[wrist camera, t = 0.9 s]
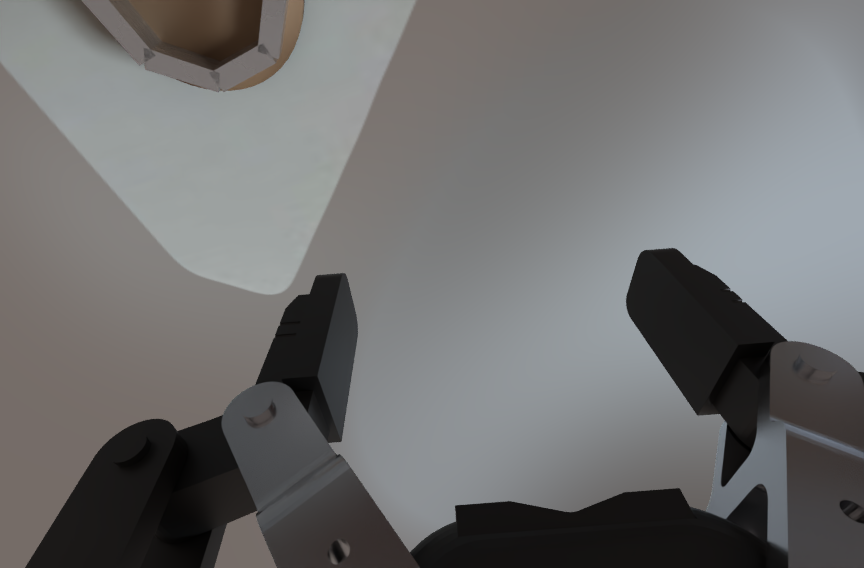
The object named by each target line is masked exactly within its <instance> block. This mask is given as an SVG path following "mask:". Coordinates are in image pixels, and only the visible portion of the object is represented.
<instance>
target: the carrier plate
mask: <svg viewBox="0 0 864 568" xmlns="http://www.w3.org/2000/svg"><path fill="white" fill-rule="evenodd" d="M81 1H82V2H83V3H84V4H85V5H86V6H87V7H88V8H89V9H90V11H91V12H92V13H93V14H94V15H95V16H96V17H97V18H98V20H99V21H100V22H101V23H102V24H103V25H104V26H105V27H106V29H107V30H108V31H109V32H110V33H111V34H112V35H113V36H114V37H115V39H116V40H117V41H118V42H119V43H120V44H121V45H122V46H123V48H124V49H125V50H126V51H127V52H128V53H129V54H130V55H131V57H132V58H133V59H134V60H135V61H136V62H137V63H138V64H139V65H141V64H143V63H144V62H145V69H146V70H149V71H153V72H156V73H159V74H162V75H165V76H168V77H172V78H175V79H177V80H179V81H182V82H184V83H187V84H190V85H193V86H197V87H201V88H204V89H210V90H213V91H216V92H219V91H220V90H222V91H223V92H225V91H231V90H239V89H244V88H248V87H252V86H255V85H257V84H259V83H261V82H264V81H265V80H267V79H268V78H270V77H271V76H273V75H274V74H275V73H276V72H277V71H278V70H279V69H280V68H281V67H282V66H283V65H284V63H285V62H286V61H287V60H288V58H289V56H290V55H291V53H292V51H293V49H294V47H295V44H296V42H297V39H298V36H299V33H300V29H301V25H302V20H303V13H304V0H81Z"/></svg>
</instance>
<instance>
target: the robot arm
mask: <svg viewBox="0 0 864 568" xmlns="http://www.w3.org/2000/svg"><path fill="white" fill-rule="evenodd" d="M626 306H627V310H628V314H629V316H630V317H631V319H632V321H633V322H634V324H635V325H636V327H637V328H638V329H639V331H640V332H641V334H642V335H643V337H644V338H645V340H646V341H647V343H648V344H649V345H650V347H651V348H652V350H653V351H654V353H655V354H656V356H657V357H658V359H659V360H660V362H661V363H662V364H663V366H664V367H665V369H666V370H667V372H668V373H669V375H670V376H671V378H672V379H673V380H674V382H675V383H676V385H677V386H678V388H679V389H680V391H681V392H682V393H683V395H684V396H685V398H686V399H687V401H688V402H689V404H690V405H691V407H692V408H693V410H694V411H695V413H696V414H697V415H711V414H721V416H722V417H723V419H724V420H725V421H724V423H723V424H722V426H721V428H720V431H719V439H718V447H717V455H716V462H715V471H714V478H713V487H712V494H711V498H710V501H709V504H708V507H707V509H706V511H702V510H699V509H696V508H692V507H689V505H688V503H687V501H686V500H685V498H684V496H683V494H682V492H681V490H680V489H679V488H676V489H664V490H650V491H637V492H625V493H622V494H619V495H617V496H614V497H612V498H609V499H607V500H605V501H602V502H599V503H597V504H594V505H592V506H589V507H587V508H584V509H582V510H580V511H577V512H563V511H558V510H553V509H548V508H542V507H537V506H532V505H527V504H522V503H516V502H511V501H508V502H495V503H483V504H470V505H457V506H455V511H456V522H454V523H451V524H449V525H446V526H444V527H442V528H441V529H439V530H437V531H435V532H433V533H432V534H430V535H429V536H428V537H426V538H425V539H424V540H423V541H421V542H420V543H419V544H418V545H417V546H416V547H415V548H414V549H413V550H412V551H411V552H409V551H408V549H407V548H406V546H405V545H404V544H403V542H402V541H401V539H400V538H399V536H398V535H397V533H396V532H395V531H394V529H393V528H392V526H391V525H390V523H389V522H388V521H387V519H386V518H385V516H384V515H383V513H382V512H381V510H380V509H379V508H378V506H377V505H376V503H375V502H374V500H373V499H372V497H371V496H370V495H369V493H368V492H367V490H366V489H365V487H364V486H363V484H362V483H361V482H360V480H359V479H358V477H357V476H356V474H355V473H354V472H353V470H352V469H351V467H350V466H349V464H348V463H347V462H346V460H345V459H344V458H343V457H342V456H341V455H340V454H339V455H337V454H336V453H335V452H334V451H333V449H332V448H331V447H330V445H329V444H328V443H332V442H341V441H342V434H343V427H344V421H345V415H346V407H347V402H348V395H349V388H350V382H351V376H352V370H353V363H354V356H355V350H356V343H357V337H358V324H357V317H356V312H355V308H354V304H353V300H352V296H351V291H350V287H349V283H348V279H347V276H346V274H345V273H340V274H327V275H317V276H316V278H315V280H314V283H313V286H312V289H311V292H310V294H308V295H298V297H296V299H294V300H293V301H292V302H291V303H290V304H289V306H288V307H287V308H286V309H285V312H284V314H283V317H282V319H281V322H280V326H279V327H278V329H277V332H276V334H275V338H274V339H273V342H272V344H271V347H270V349H269V352H268V354H267V357H266V359H265V362H264V364H263V367H262V369H261V372H260V374H259V377H258V379H257V382H256V384H255V385H254V386H252V387H250V388H248V389H246V390H245V391H243V392H241V393H240V394H239V395H238V396H236V397H235V398H234V399H233V400H232V401H231V403H230V404H229V405H228V407H227V408H226V410H225V412H224V414H223V415H222V416H219V417H217V418H214V419H212V420H209V421H206V422H203V423H200V424H197V425H194V426H192V427H188V428H186V429H183V430H180V431H177V430H176V429H175V428H174V426H173V425H172V424H171V423H170V422H168V421H166V420H163V419H150V420H145V421H142V422H138V423H136V424H134V425H131V426H129V427H127V428H126V429H124V430H122V431H121V432H119V433H118V434H116V435H115V436H114V437H112V438H111V439H110V440H109V441H108V442H107V443H106V444H105V445H104V446H103V447H102V448H101V449H100V450H99V451H98V453H97V454H96V455H95V457H94V458H93V460H92V461H91V463H90V465H89V466H88V468H87V469H86V471H85V473H84V474H83V476H82V477H81V479H80V481H79V482H78V484H77V485H76V487H75V489H74V490H73V492H72V493H71V495H70V497H69V499H68V500H67V501H66V503H65V505H64V506H63V508H62V509H61V511H60V513H59V514H58V516H57V517H56V519H55V521H54V522H53V524H52V525H51V527H50V529H49V530H48V532H47V534H46V535H45V537H44V538H43V540H42V542H41V543H40V545H39V546H38V548H37V550H36V551H35V553H34V555H33V556H32V557H31V559H30V561H29V563H28V564H27V566H26V567H25V568H214V566H215V562H216V559H217V555H218V552H219V549H220V545H221V542H222V538H223V535H224V531H225V528H226V525H227V523H229V522H231V521H234V520H236V519H238V518H241V517H243V516H245V515H248V514H250V513H253V512H255V511H258V513H257V514H256V517H257V521H258V524H259V526H260V529H261V531H262V534H263V536H264V538H265V541H266V543H267V545H268V548H269V550H270V552H271V554H272V557H273V559H274V562H275V564H276V566H277V568H864V373H863V372H858V371H857V370H856V369H855V368H854V367H853V366H852V365H851V364H850V363H848V362H847V361H846V360H844V359H843V358H841V357H839V356H838V355H836V354H834V353H832V352H830V351H828V350H826V349H823V348H821V347H818V346H815V345H812V344H808V343H803V342H796V341H787V340H786V339H785V338H784V337H783V336H782V335H781V334H779V333H778V332H777V331H776V330H775V329H774V328H773V327H772V326H771V325H770V324H769V323H767V322H766V321H765V320H764V319H763V318H762V317H761V316H760V315H759V314H757V313H756V312H755V311H754V310H753V309H752V308H751V307H750V306H749V305H748V304H747V303H746V302H742V299H741V298H740V297H739V296H738V295H737V294H736V293H734V292H733V291H730V288H729V287H728V286H727V285H726V284H725V283H724V282H722V281H721V280H720V279H719V278H718V277H717V276H715V275H714V274H712V273H710V272H708V271H706V270H705V269H703V268H701V267H699V266H697V265H693V264H692V263H691V262H690V261H689V260H688V259H687V258H686V257H685V256H684V255H683V254H682V253H681V252H680V251H678V250H677V249H675V248H669V249H656V250H644V251H643V252H641V253H640V255H639V257H638V260H637V263H636V266H635V270H634V273H633V276H632V280H631V283H630V287H629V290H628V293H627V298H626Z"/></svg>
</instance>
